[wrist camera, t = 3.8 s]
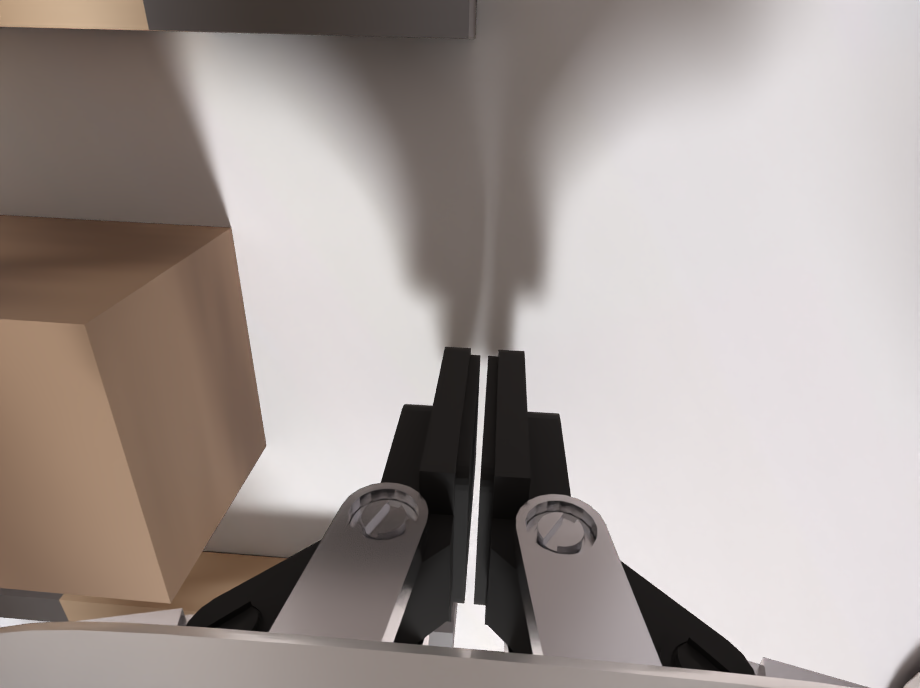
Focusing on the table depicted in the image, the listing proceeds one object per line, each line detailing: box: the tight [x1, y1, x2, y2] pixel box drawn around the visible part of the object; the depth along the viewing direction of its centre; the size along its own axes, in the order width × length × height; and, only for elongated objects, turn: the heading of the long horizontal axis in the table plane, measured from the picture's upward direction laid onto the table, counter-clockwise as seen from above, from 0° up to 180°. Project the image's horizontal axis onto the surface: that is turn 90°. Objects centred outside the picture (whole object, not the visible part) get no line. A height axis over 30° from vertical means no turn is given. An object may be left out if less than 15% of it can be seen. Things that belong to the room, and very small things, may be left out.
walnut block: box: [0, 215, 266, 604], centre depth 12 cm, size 6×6×5 cm
